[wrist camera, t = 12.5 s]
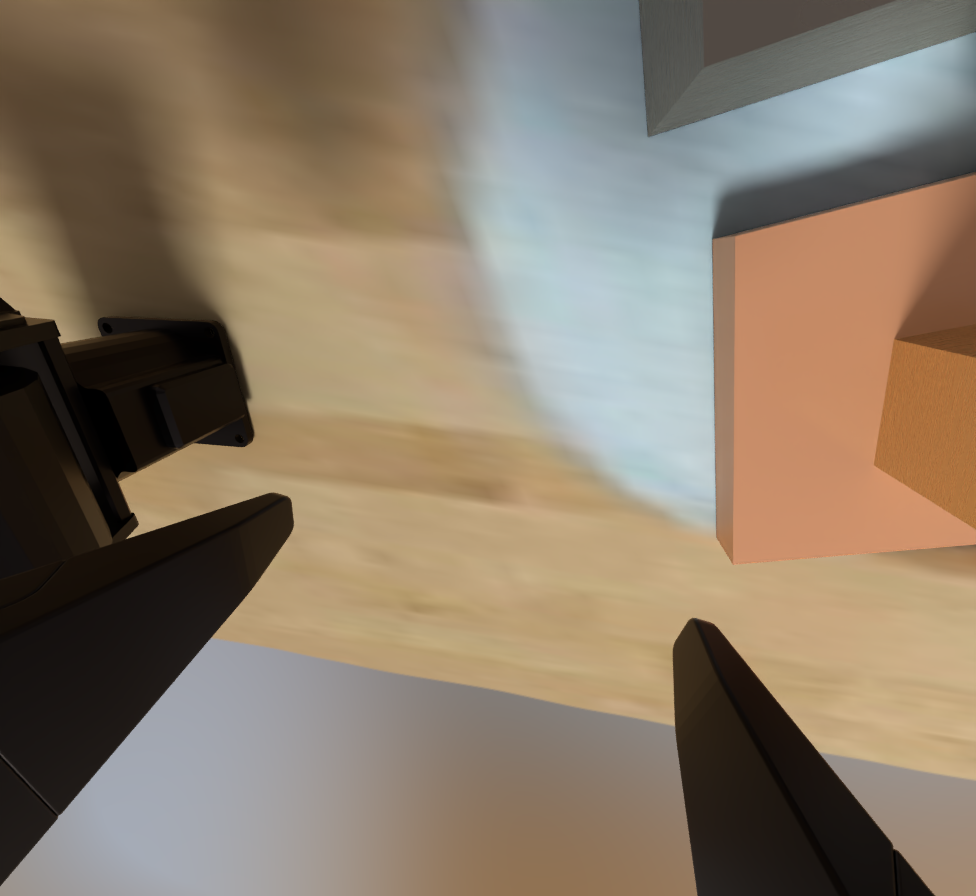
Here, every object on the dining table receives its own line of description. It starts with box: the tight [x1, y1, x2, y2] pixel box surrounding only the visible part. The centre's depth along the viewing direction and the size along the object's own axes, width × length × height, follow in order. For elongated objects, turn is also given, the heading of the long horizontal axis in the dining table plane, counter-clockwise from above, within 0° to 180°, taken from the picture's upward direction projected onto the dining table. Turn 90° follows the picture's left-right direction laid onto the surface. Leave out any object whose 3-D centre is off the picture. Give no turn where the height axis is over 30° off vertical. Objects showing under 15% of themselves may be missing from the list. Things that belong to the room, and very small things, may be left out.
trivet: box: [712, 172, 976, 565], centre depth 15 cm, size 14×14×2 cm
